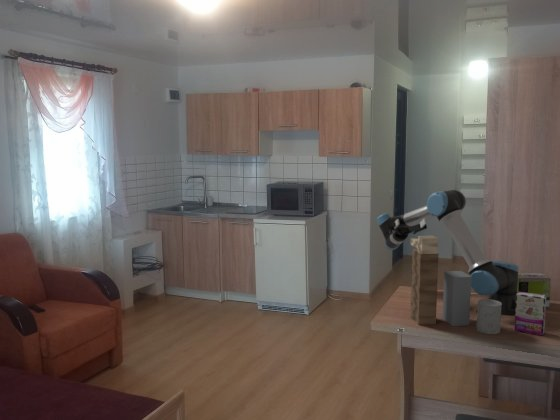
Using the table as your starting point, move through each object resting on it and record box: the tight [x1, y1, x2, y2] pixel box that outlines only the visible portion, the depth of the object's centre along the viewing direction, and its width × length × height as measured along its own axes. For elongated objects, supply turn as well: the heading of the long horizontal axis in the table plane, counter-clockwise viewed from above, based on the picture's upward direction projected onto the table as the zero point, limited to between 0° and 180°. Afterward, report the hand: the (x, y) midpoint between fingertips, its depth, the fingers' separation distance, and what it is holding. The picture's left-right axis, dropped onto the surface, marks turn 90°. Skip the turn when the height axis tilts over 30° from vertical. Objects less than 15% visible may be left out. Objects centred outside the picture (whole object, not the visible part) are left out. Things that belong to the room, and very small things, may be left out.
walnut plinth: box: [410, 248, 440, 326], centre depth 231 cm, size 10×8×32 cm
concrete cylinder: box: [476, 298, 502, 335], centre depth 221 cm, size 10×10×12 cm
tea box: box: [517, 272, 552, 308], centre depth 254 cm, size 15×10×15 cm, turn 84°
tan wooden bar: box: [409, 235, 439, 254], centre depth 233 cm, size 20×7×7 cm, turn 6°
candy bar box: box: [514, 292, 547, 336], centre depth 218 cm, size 11×5×16 cm, turn 56°
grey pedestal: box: [441, 270, 472, 327], centre depth 230 cm, size 10×8×22 cm
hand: (411, 221), depth 251 cm, fingers open, 13 cm apart
